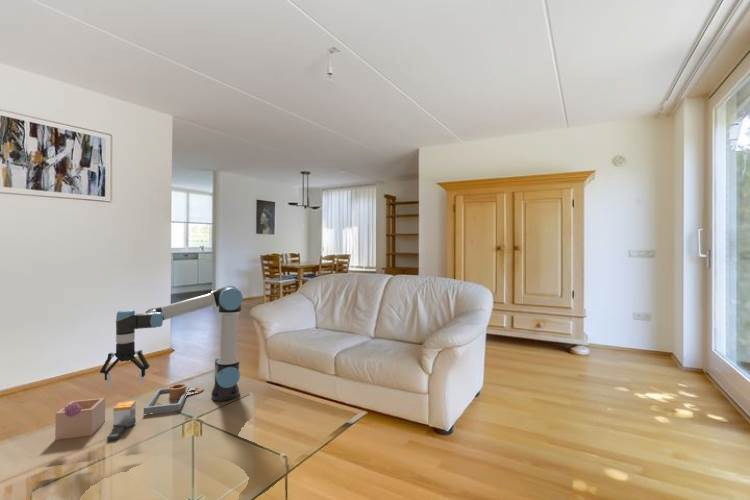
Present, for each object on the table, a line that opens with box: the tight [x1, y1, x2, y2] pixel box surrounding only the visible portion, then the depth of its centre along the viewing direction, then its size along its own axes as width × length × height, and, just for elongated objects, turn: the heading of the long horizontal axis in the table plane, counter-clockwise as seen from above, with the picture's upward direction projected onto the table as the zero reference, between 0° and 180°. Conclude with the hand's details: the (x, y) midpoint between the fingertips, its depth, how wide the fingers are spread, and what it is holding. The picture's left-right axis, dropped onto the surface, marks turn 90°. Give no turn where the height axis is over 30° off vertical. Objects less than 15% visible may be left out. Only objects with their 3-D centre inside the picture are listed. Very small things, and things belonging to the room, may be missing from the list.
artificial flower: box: [63, 402, 83, 417], centre depth 163 cm, size 7×7×25 cm
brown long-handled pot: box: [168, 383, 204, 400], centre depth 209 cm, size 18×8×7 cm, turn 130°
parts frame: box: [143, 385, 191, 415], centre depth 199 cm, size 17×27×4 cm, turn 18°
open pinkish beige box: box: [54, 397, 106, 441], centre depth 169 cm, size 14×14×12 cm
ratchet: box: [106, 417, 136, 442], centre depth 168 cm, size 9×19×8 cm, turn 18°
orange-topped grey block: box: [112, 400, 136, 426], centre depth 173 cm, size 7×7×8 cm
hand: (125, 385), depth 173 cm, fingers open, 13 cm apart
